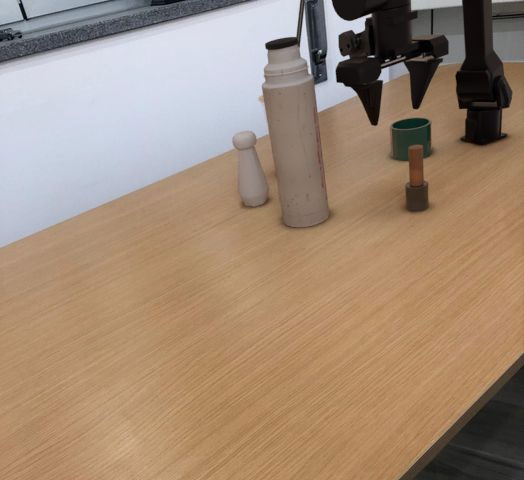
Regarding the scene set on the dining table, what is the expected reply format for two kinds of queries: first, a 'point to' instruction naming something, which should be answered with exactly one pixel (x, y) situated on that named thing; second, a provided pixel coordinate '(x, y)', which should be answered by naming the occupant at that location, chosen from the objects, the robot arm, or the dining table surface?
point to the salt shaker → (250, 170)
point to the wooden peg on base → (416, 181)
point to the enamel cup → (410, 137)
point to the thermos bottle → (294, 134)
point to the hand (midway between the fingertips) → (395, 116)
